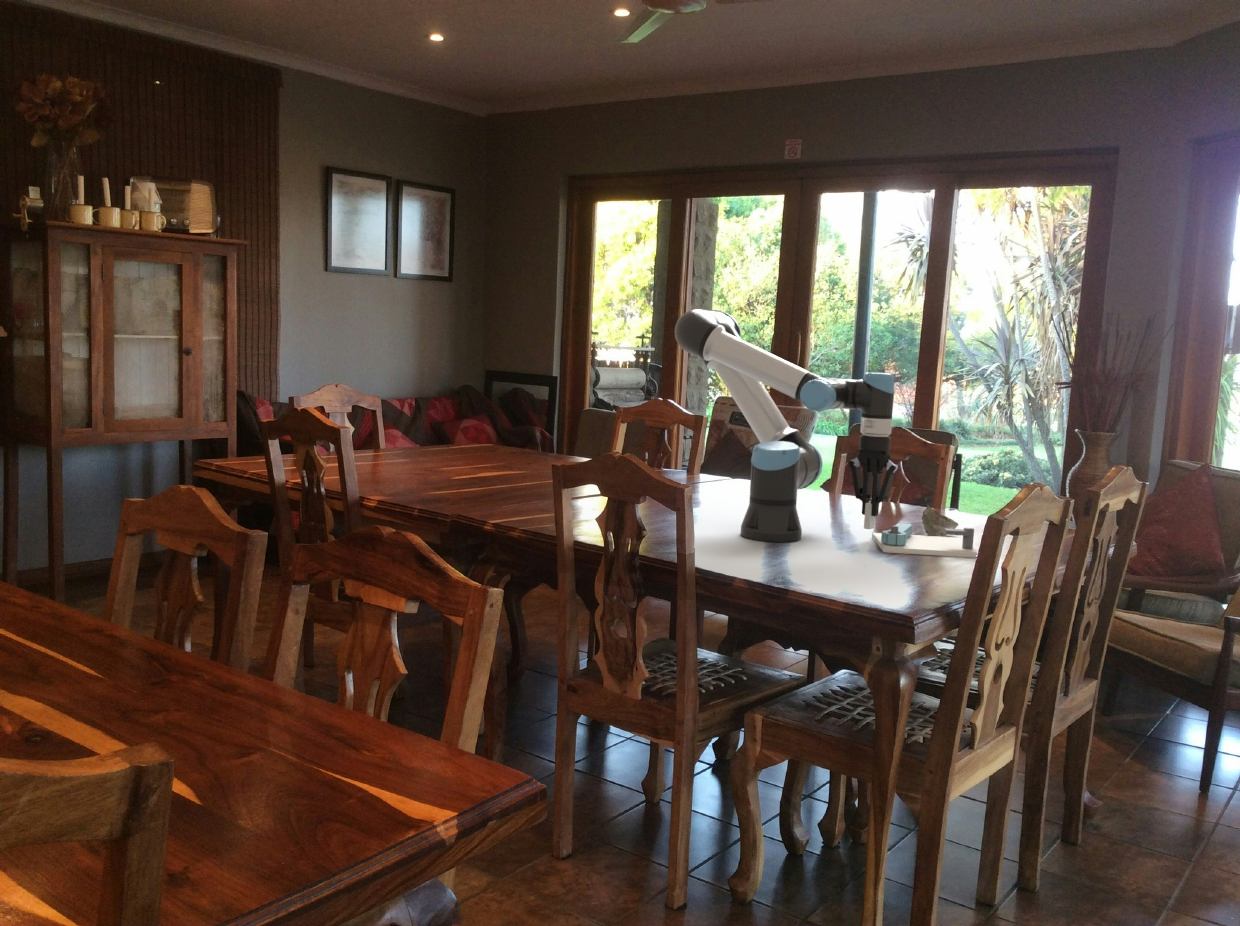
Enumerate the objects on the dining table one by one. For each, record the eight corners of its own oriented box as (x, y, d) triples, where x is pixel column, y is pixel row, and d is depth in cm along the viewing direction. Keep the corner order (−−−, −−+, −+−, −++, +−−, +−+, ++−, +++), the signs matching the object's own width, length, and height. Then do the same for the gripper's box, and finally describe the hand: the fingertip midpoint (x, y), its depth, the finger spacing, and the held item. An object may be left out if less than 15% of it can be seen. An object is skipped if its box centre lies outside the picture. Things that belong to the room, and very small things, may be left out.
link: (903, 546, 255) (903, 535, 255) (879, 543, 257) (880, 532, 257) (915, 534, 271) (916, 524, 271) (893, 531, 273) (894, 522, 273)
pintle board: (883, 552, 254) (885, 527, 253) (871, 537, 273) (873, 514, 272) (978, 557, 252) (980, 532, 252) (960, 542, 271) (961, 519, 270)
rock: (941, 537, 271) (921, 504, 276) (926, 550, 275) (906, 518, 280) (968, 533, 278) (948, 502, 282) (953, 546, 282) (933, 515, 286)
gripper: (844, 433, 267) (838, 526, 270) (893, 438, 259) (886, 533, 262) (858, 431, 273) (852, 522, 276) (906, 436, 265) (899, 530, 268)
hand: (869, 528), depth 269 cm, fingers closed
